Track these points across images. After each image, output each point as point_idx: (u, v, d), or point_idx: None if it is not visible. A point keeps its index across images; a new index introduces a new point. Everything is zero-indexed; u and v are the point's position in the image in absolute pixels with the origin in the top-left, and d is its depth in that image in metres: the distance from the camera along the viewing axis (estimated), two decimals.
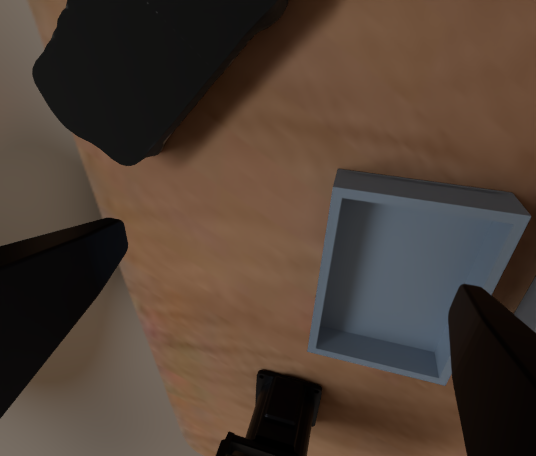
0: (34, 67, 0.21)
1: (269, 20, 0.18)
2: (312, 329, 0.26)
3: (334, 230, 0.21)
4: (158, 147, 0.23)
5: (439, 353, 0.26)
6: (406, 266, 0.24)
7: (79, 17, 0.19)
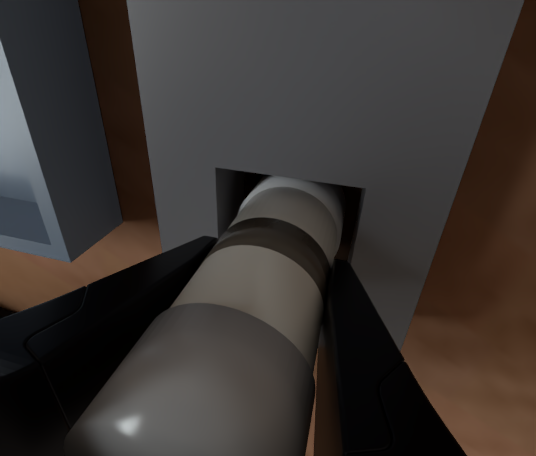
0: None
1: None
2: None
3: None
4: None
5: None
6: None
7: None
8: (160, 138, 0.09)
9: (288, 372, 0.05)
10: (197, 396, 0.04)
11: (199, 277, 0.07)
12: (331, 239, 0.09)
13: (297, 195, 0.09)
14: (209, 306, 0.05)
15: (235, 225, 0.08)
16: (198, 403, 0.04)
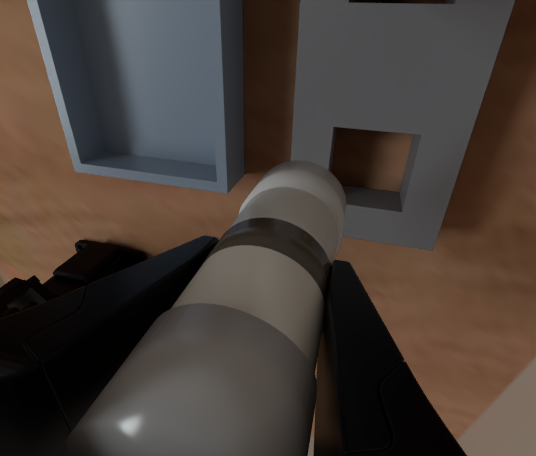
0: None
1: None
2: (65, 131, 0.20)
3: None
4: None
5: None
6: (158, 24, 0.18)
7: None
8: (302, 111, 0.17)
9: (290, 372, 0.05)
10: (201, 398, 0.04)
11: (200, 277, 0.07)
12: (332, 239, 0.09)
13: (299, 195, 0.09)
14: (211, 306, 0.05)
15: (236, 225, 0.08)
16: (201, 404, 0.04)
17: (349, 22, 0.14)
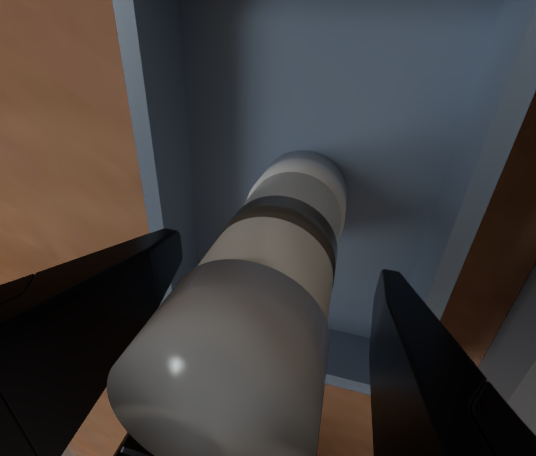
0: None
1: None
2: (163, 300, 0.14)
3: (138, 64, 0.09)
4: None
5: None
6: None
7: None
8: None
9: (308, 316, 0.06)
10: (234, 326, 0.05)
11: (220, 243, 0.07)
12: (337, 219, 0.10)
13: (305, 179, 0.10)
14: (235, 261, 0.06)
15: (248, 203, 0.09)
16: (234, 330, 0.05)
17: None
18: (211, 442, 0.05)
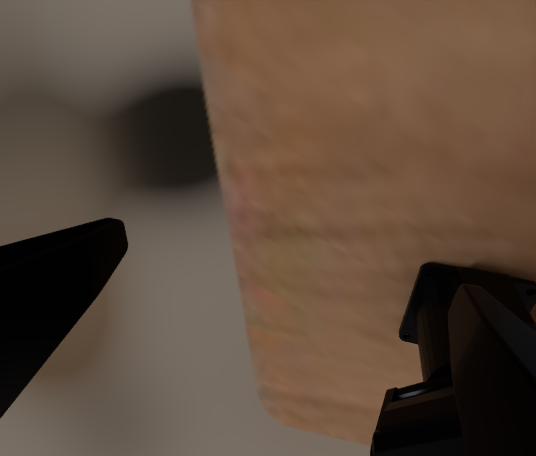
0: None
1: None
2: None
3: None
4: None
5: None
6: None
7: None
8: None
9: None
10: None
11: None
12: None
13: None
14: None
15: None
16: None
17: None
18: None
